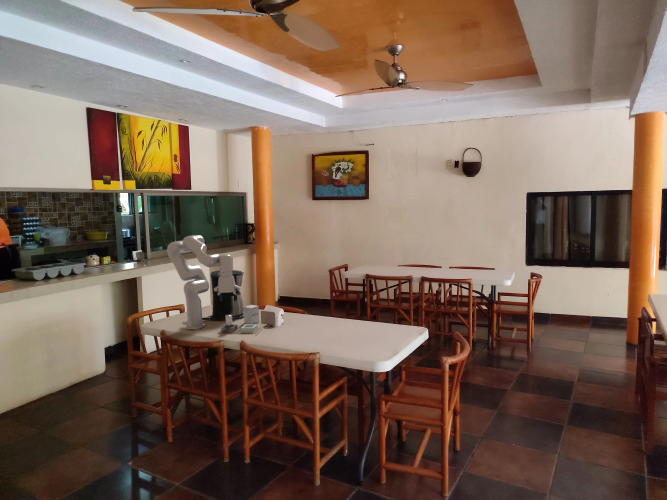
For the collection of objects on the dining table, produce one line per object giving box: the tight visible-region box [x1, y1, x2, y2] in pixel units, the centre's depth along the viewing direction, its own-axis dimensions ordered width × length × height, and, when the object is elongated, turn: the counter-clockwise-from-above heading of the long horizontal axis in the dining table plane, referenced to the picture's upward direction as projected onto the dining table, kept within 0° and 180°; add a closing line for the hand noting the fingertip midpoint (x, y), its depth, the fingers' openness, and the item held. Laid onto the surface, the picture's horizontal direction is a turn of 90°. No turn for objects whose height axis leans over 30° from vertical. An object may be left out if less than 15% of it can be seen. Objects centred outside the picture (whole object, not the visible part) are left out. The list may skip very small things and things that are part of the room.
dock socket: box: [240, 323, 258, 333], centre depth 297 cm, size 8×8×3 cm
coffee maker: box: [202, 269, 245, 322], centre depth 336 cm, size 23×32×34 cm
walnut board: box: [216, 323, 262, 335], centre depth 298 cm, size 25×14×4 cm, turn 83°
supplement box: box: [243, 304, 260, 324], centre depth 317 cm, size 7×7×13 cm
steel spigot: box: [225, 315, 233, 327], centre depth 298 cm, size 4×4×10 cm
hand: (228, 300), depth 296 cm, fingers open, 9 cm apart
